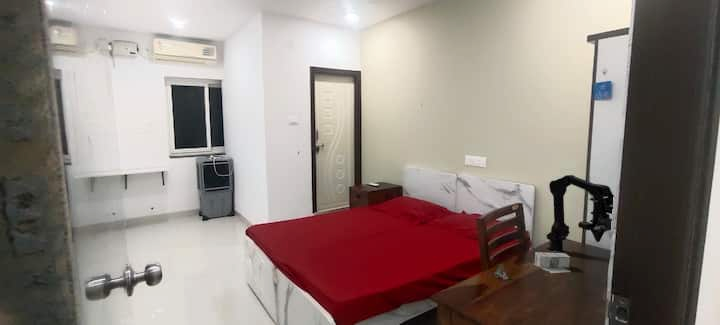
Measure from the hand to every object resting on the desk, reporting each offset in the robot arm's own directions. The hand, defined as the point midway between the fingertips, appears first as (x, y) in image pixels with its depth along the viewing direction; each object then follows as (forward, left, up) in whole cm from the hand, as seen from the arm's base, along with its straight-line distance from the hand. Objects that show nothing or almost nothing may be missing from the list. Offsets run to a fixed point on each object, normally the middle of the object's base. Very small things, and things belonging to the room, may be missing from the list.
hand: (597, 241), depth 174 cm
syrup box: (-1, -16, -9) cm, 18 cm away
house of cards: (+5, -58, -13) cm, 60 cm away
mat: (-1, -24, -12) cm, 27 cm away
